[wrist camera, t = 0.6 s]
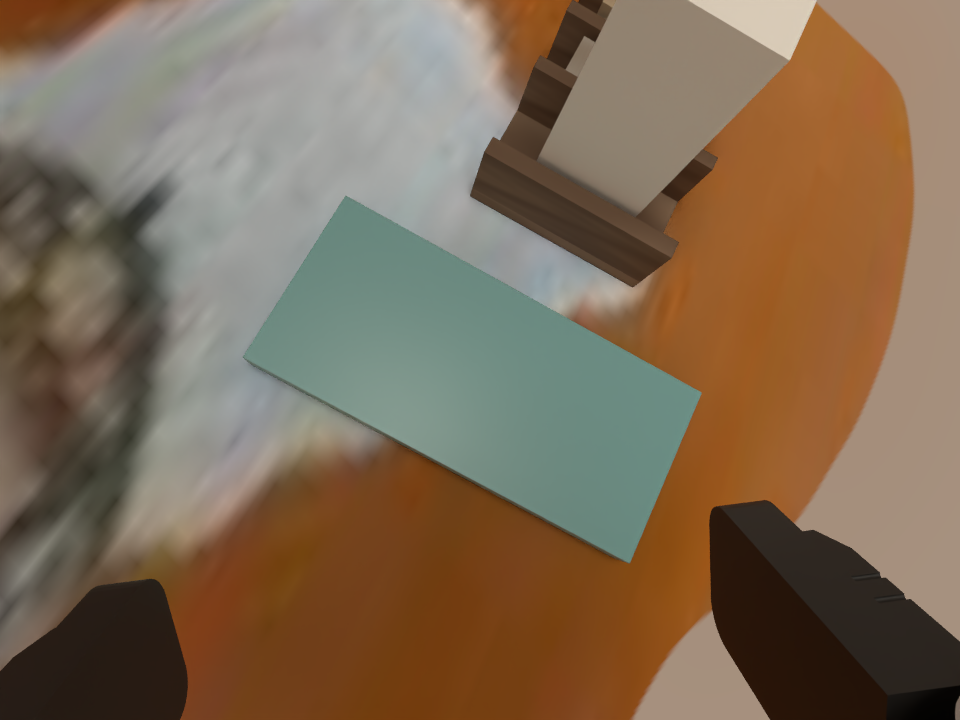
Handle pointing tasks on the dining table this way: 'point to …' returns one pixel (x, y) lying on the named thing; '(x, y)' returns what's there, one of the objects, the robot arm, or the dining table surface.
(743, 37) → the beige tall block
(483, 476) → the board
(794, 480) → the dining table surface
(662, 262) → the rack
